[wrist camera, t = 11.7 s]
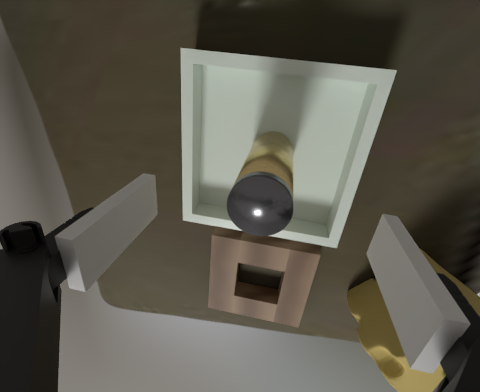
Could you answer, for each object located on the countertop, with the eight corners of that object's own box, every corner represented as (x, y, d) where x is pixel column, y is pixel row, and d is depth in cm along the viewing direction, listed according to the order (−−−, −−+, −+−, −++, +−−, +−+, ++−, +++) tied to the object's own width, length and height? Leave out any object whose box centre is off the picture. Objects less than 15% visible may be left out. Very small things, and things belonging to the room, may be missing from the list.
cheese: (343, 290, 33) (362, 374, 24) (422, 241, 28) (482, 323, 19) (400, 333, 34) (438, 426, 26) (484, 294, 29) (566, 392, 21)
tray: (381, 69, 21) (396, 70, 18) (331, 228, 29) (336, 248, 26) (195, 50, 23) (180, 48, 20) (193, 204, 31) (182, 220, 28)
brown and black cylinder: (297, 134, 24) (300, 184, 14) (288, 174, 26) (285, 241, 16) (254, 128, 24) (229, 172, 15) (249, 167, 26) (224, 229, 17)
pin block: (318, 241, 30) (320, 255, 28) (298, 311, 36) (298, 327, 33) (217, 223, 31) (211, 234, 29) (213, 293, 37) (208, 307, 35)
